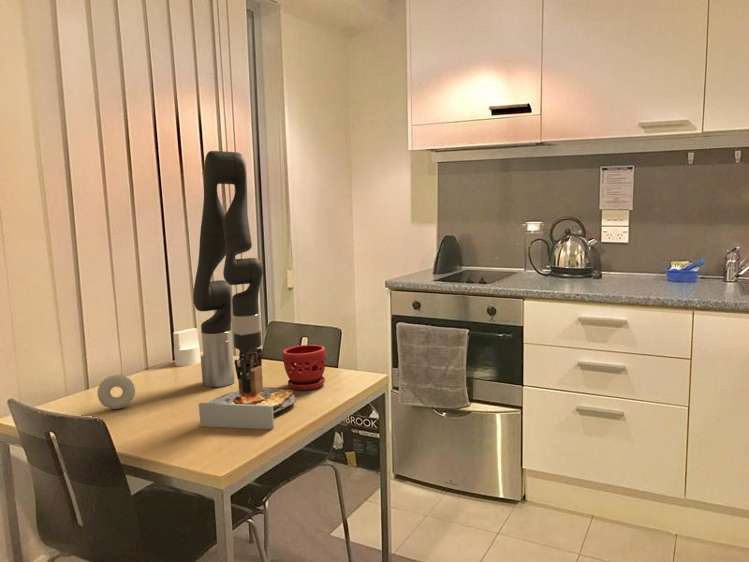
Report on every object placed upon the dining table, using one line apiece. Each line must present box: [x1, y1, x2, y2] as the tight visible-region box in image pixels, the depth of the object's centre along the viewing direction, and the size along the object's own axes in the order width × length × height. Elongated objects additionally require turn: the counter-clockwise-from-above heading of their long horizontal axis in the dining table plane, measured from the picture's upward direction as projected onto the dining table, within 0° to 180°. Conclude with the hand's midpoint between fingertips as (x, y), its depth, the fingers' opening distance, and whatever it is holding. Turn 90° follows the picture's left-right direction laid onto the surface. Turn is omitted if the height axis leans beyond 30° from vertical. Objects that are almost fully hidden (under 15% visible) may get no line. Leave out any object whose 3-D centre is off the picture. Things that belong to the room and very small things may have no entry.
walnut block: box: [237, 366, 264, 396], centre depth 168 cm, size 5×5×7 cm
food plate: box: [207, 386, 297, 414], centre depth 169 cm, size 25×23×4 cm
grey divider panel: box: [198, 402, 275, 430], centre depth 154 cm, size 20×1×6 cm, turn 78°
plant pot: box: [282, 344, 326, 391], centre depth 187 cm, size 13×13×12 cm
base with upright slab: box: [172, 327, 201, 367], centre depth 220 cm, size 9×9×12 cm
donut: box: [97, 374, 136, 410], centre depth 171 cm, size 10×4×10 cm, turn 110°
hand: (250, 389), depth 168 cm, fingers closed on walnut block, 5 cm apart
